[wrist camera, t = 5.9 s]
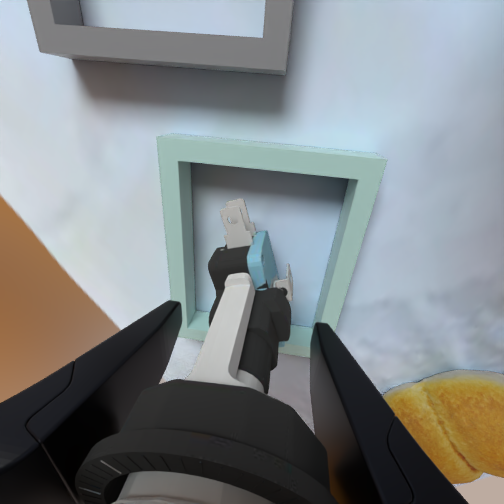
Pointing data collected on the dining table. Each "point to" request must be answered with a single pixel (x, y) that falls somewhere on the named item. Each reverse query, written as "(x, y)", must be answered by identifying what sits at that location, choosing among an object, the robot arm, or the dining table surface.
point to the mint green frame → (276, 159)
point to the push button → (219, 404)
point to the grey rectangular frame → (163, 41)
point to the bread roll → (456, 421)
